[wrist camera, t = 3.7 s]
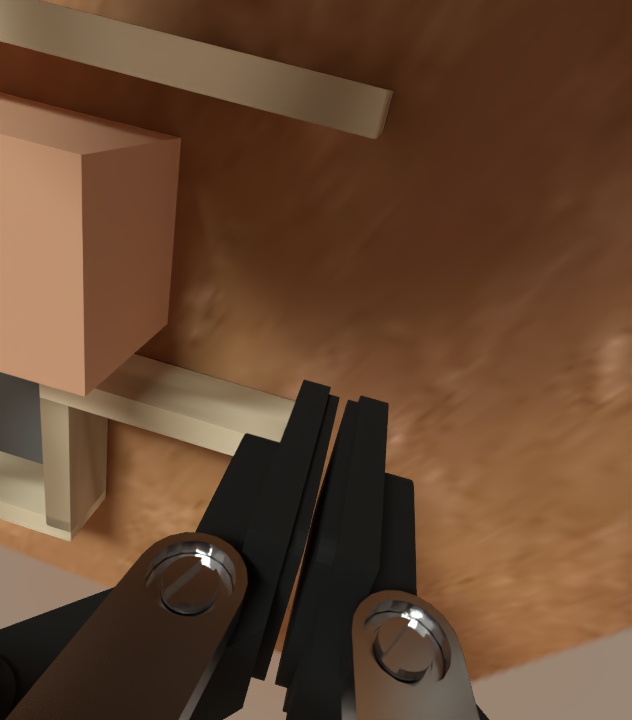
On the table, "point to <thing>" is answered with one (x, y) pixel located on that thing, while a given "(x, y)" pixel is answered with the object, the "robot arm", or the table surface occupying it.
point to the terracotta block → (81, 242)
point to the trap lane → (137, 374)
